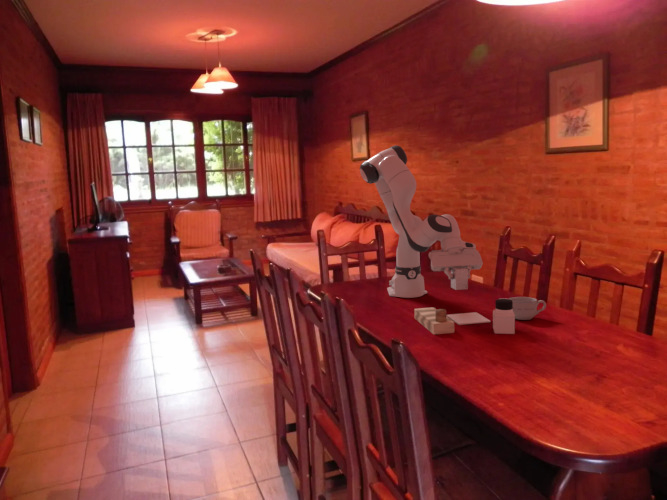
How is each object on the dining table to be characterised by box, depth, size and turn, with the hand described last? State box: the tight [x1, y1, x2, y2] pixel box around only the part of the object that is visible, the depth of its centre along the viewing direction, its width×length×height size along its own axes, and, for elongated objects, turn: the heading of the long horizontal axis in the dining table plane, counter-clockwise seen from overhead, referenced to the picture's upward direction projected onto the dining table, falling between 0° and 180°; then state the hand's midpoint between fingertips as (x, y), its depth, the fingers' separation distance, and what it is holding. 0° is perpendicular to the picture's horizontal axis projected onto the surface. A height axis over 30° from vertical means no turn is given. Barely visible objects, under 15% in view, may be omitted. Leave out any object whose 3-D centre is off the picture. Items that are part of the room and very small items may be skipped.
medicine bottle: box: [492, 297, 516, 335], centre depth 196 cm, size 7×7×12 cm
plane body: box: [413, 306, 455, 335], centre depth 207 cm, size 22×8×8 cm, turn 10°
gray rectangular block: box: [450, 267, 469, 291], centre depth 209 cm, size 5×5×8 cm
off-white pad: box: [446, 311, 491, 326], centre depth 214 cm, size 13×13×1 cm
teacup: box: [508, 296, 547, 321], centre depth 211 cm, size 14×11×8 cm
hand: (459, 278), depth 209 cm, fingers closed on gray rectangular block, 5 cm apart
